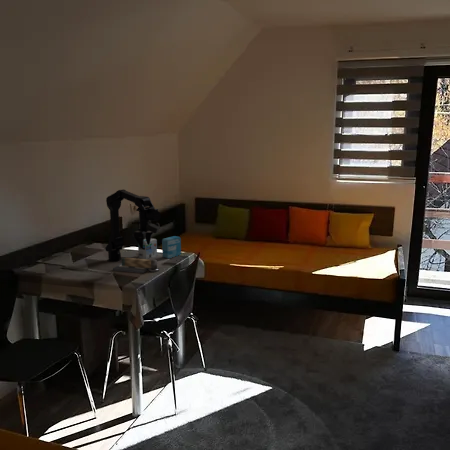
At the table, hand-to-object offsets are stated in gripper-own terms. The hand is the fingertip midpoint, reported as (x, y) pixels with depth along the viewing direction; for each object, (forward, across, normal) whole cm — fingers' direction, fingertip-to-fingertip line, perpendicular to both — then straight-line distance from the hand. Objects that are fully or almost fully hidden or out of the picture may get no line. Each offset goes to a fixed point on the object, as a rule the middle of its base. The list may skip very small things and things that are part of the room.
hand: (145, 246), depth 274 cm
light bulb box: (+13, +23, +9) cm, 28 cm away
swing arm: (+11, -3, +2) cm, 12 cm away
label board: (+13, -3, +6) cm, 15 cm away
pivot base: (+13, -4, -6) cm, 15 cm away
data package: (+13, +27, -6) cm, 31 cm away
